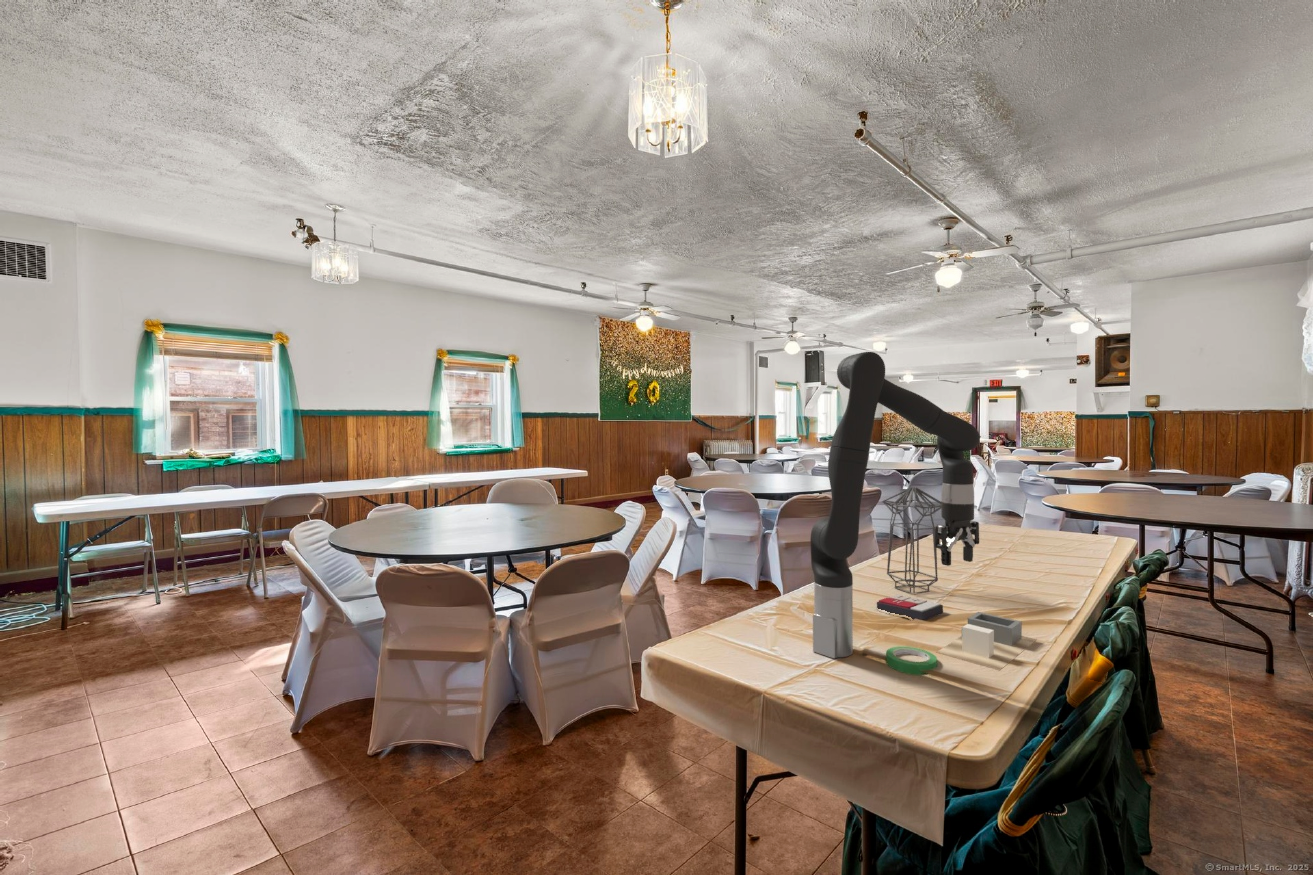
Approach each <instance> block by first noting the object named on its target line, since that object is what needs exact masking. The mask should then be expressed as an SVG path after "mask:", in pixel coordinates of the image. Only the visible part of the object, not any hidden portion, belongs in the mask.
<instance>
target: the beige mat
mask: <svg viewBox="0 0 1313 875" xmlns="http://www.w3.org/2000/svg"><path fill="white" fill-rule="evenodd" d="M1036 641H1037V638H1034V637H1033V638H1032V637H1028V636H1024V635H1022V639H1021V640H1019V641H1018V642H1017V643H1015V644H1014V645H1013V646H1008V645H1004V644H1000V643H996V642H994V655H993V656H991V657H990V658H986V657H982V656H978V655H975V654H971V653H967V652H964V651H962V635H961V636H960V637H958V638H956V639H955V640H953V641H952V642H950V643H949V644H947V645H945V646H944V647H942V648H941V649H939V650H938V651H936V652H935V653H936V654H940V655H944V656H947V657H950V658H954V659H958V660H961V661H965V662H968V663H972V664H976V665H978V666H981V667H985V668H988V669H992V670H996V671H998V672H999V671H1001V670H1002V669H1003V668H1004V667H1005V666H1007V665H1008V664H1009V663H1011V662H1012V661H1013V660H1014V659H1015V658H1016V657H1018V656H1019V655H1020V654H1021V653H1022V652H1023V651H1025V650H1026V649H1027V648H1028V647H1030V646H1031V645H1033V643H1034V642H1036Z"/></svg>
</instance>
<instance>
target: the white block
mask: <svg viewBox="0 0 1313 875" xmlns="http://www.w3.org/2000/svg"><path fill="white" fill-rule="evenodd" d="M961 636H962V651H964V652H967V653H971V654H975V655H978V656H982V657H986V658H990V657H991V656H993V655H994V630H991V629H987V628H983V627H979V626H975V625H971V624H968V623H966V624H965V625H963V626H961Z"/></svg>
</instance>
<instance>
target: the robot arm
mask: <svg viewBox="0 0 1313 875" xmlns="http://www.w3.org/2000/svg"><path fill="white" fill-rule="evenodd" d="M836 376H837V379H838V381H839V383H840V384H841V385H842V386H843V387H844V388H845V389H848V390H849V392H848V399H847V400H848V401H847V405H846V408H845V411H844V414H843V416H842V418H841V419H840V421H839V424H838V425H837V427H836V429H835V431H834V434H833V436H832V439H831V444H830V448H829V455H828V462H827V473H828V479H829V486H830V491H831V492H830V493H831V505H830V510H829V516H828V517H823V518H821V519H819V520H817V521H816V522H815V523H814V525H813V526H812V529H811V532H810V543H809V544H810V564H811V570H812V573H813V577H814V578H813V579H814V580H813V581H814V582H813V584H814V595H813V597H814V598H813V600H814V601H813V602H814V603H813V605H814V607H813V609H814V613H813V614H812V652H813V653H817V654H820V655H823V656H826V657H829V658H831V659H837V658H846V657H849V656H851V655H853V653H854V652H853V651H854V650H853V647H854V646H853V644H854V640H853V639H854V637H853V635H854V634H853V633H854V632H853V630H854V628H853V627H854V624H853V622H854V621H853V617H854V616H853V615H854V614H853V605H854V604H853V602H854V600H853V588H854V587H853V584H854V582H853V578H854V577H853V573H852V571H851V570H850V568H849V566H848V562H847V560H848V559H849V558H850V557H851V556H852V555H853V554H854V553H855V551H856V549H857V546H858V543H859V532H860V518H861V516H860V514H861V512H860V511H861V504H862V497H863V496H862V495H863V490H864V485H865V480H866V479H865V477H866V472H867V467H868V463H869V462H868V461H869V457H870V448H871V441H872V435H873V429H874V424H875V416H876V412H877V407H878V404H880V405H882V406H884V407H886V409H889V410H890V411H892V412H894V413H895V414H897V415H899V416H900V417H902V418H903V419H904V420H906V421H907V422H909V423H911V424H912V425H913V426H915V427H917V428H918V429H919V430H921V431H923V432H924V433H926V434H928V435H933V436H937V437H936V445H937V450H938V454H939V457H940V462H941V465H942V486H941V497H940V498H941V500H940V502H941V509H940V510H941V511H940V512H941V513H940V514H941V518H942V519H944V525H941V524H936V525H935V527H936V530H935V548H937V549H939V550H940V552H941V553H940V560H941V565H943V566H947V567H948V566H952V549H953V547H954V545H956V544H957V543H958V542H959V541H961V543H962V544H963V547H962V548H963V549H962V557H963V558H962V559H963V561H964V562H968V563H971V562H973V559H974V548H975V546H976V545H979V544H980V523H979V521H974V518H975V489H974V466H973V463H972V462H971V461H969V460H967V459H966V457H965V455H964V452H969V451H972V450H974V449H976V448H977V447H978V445H979V444H980V439H981V437H980V435H981V434H980V432H979V431H978V430H977V428H976V427H975V426H974V425H973V424H971V423H970V422H968V421H966V420H965V419H962V418H960V417H958V416H957V415H954V414H951V413H950V412H947V411H945V410H943V409H942V408H941V407H939V406H938V405H936V404H935V403H934V402H932V401H931V400H929V399H927V398H926V397H924V396H922V395H920V394H918V393H916V392H913V391H911V390H909V389H906V388H904V387H901V386H899V385H897V384H895V383H893V382H891V381H889V380H888V379H886V378H885V377H886V365H885V361H884V359H883V358H882V357H881V355H880V354H878V353H876V352H874V351H864V352H859V353H856V354H851V355H848V356H847V357H845V358H843V359H841V361H840V362H839V364H838V366H837V369H836ZM846 559H847V560H846Z"/></svg>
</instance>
